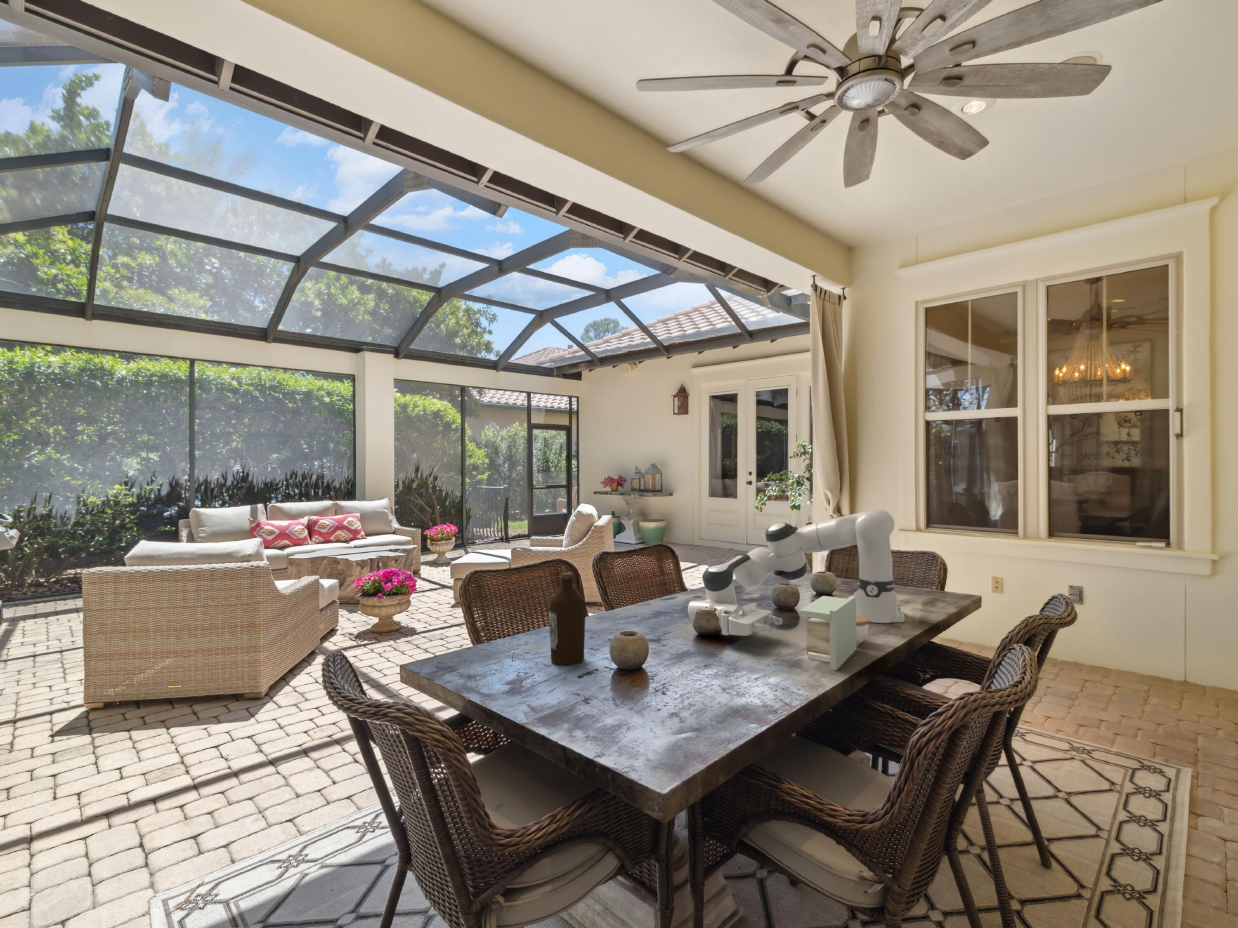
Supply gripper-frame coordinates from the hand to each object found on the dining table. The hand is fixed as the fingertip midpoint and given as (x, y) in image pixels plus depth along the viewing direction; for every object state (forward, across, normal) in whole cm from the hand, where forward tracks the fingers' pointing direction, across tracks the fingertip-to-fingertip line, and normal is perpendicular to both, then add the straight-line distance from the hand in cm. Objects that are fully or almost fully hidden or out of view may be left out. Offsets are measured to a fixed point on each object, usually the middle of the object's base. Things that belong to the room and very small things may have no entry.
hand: (776, 625), depth 181 cm
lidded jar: (+17, -18, -7) cm, 26 cm away
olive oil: (-45, +45, -7) cm, 64 cm away
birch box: (+14, 0, -7) cm, 16 cm away
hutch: (+16, 0, -7) cm, 17 cm away
